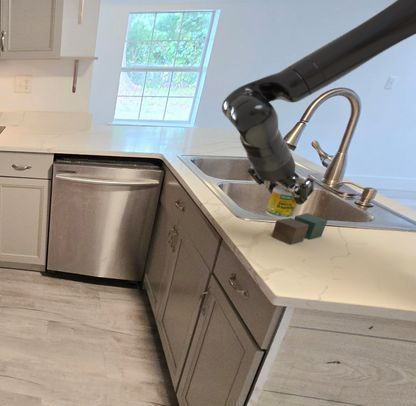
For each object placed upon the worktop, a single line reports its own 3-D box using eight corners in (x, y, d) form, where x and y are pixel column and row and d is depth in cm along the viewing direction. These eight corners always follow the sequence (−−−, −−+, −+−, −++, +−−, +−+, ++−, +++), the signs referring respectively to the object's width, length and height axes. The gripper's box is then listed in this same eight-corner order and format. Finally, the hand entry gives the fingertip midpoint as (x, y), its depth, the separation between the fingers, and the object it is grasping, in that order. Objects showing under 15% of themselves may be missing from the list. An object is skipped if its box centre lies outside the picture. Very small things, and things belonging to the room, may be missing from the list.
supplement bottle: (284, 211, 96) (296, 177, 92) (296, 220, 91) (309, 184, 87) (261, 210, 97) (272, 176, 93) (271, 218, 92) (283, 183, 88)
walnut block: (303, 241, 99) (309, 225, 97) (290, 244, 97) (296, 228, 95) (283, 233, 103) (289, 217, 101) (271, 236, 102) (276, 220, 100)
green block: (321, 236, 101) (327, 220, 99) (309, 239, 99) (315, 223, 97) (301, 228, 105) (307, 213, 103) (289, 231, 104) (295, 215, 102)
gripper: (316, 152, 78) (332, 196, 86) (250, 138, 90) (270, 177, 99) (291, 179, 79) (310, 220, 87) (229, 161, 91) (250, 198, 99)
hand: (288, 197), depth 93 cm, fingers closed on supplement bottle, 5 cm apart
